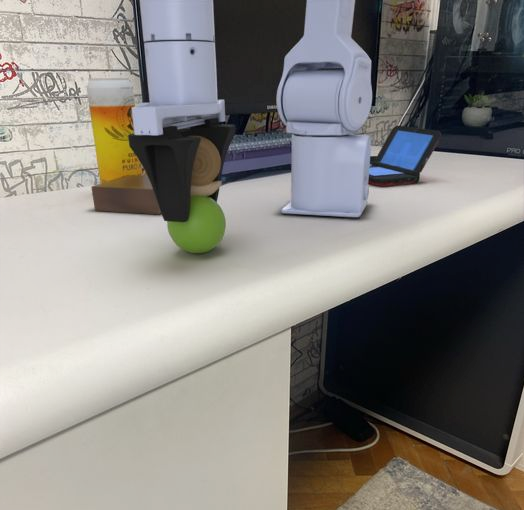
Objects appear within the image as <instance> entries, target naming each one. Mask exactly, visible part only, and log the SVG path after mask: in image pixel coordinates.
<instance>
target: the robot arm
mask: <svg viewBox="0 0 524 510" xmlns="http://www.w3.org/2000/svg"><path fill="white" fill-rule="evenodd" d="M305 5H306V6H305V17H304V30H303V36H302V37H301V38H300V40H299V41H298V42H297V43H296V44H295V45H294V46H293V47H292V48H291V49H290V51H289V52H288V53H286V55H285V56H284V59H283V61H284V62H283V71H282V75H281V78H280V81H279V84H278V87H277V90H276V110H277V112H278V116H279V119H280V120H281V122H282V123H283V124H284V126H286V133H289V134H291V165H290V166H291V168H290V169H291V173H290V182H291V183H290V201H289V203H287V204H286V205H285V206H284V207H283V208H281V210H280V211H281V214H287V215H288V214H289V215H304V216H305V215H306V216H307V215H308V216H322V217H323V216H324V217H341V218H343V217H344V218H360V217H361V215H363V212H364V210H365V209H366V207H367V205H368V200H369V194H370V185H369V183H368V180H369V167H370V165H371V153H372V152H371V151H372V149H371V148H372V142H371V141H372V139H371V135H368V134H357V133H360V129H361V128H362V126H363V125H364V124H365V122H366V121H367V120H368V118H369V115H370V112H371V109H372V103H373V89H372V88H373V87H372V77H371V76H372V60H371V58H370V57H369V54H368V53H366V51H364V49H363V48H362V47H361V46H360V45H359V44H358V42H356V41H355V40H354V39H353V38H352V34H353V33H352V32H353V23H354V13H355V5H356V0H306V4H305ZM139 8H140V17H141V30H142V39H143V46H144V47H143V48H144V56H145V59H144V60H145V68H146V78H147V79H146V80H147V89H148V98H149V99H148V100H149V102H139V103H137V106H135V107H132V116H133V125H134V134H129V135H128V139H129V146H130V148H131V149H132V151H133V152H134V153H135V155H136V156H137V158H138V159H139V161H140V163H141V165H142V169H143V170H144V172H145V173H146V176H148V178H149V180H150V183H151V185H152V188H153V191H154V193H155V196H156V199H157V202H158V205H159V208H160V211H161V214H160V215H161V217H162V219H163V221H164V222H167V221H172V222H186V221H188V218H189V213H190V201H191V177H192V170H193V164H194V160H195V156H196V152H197V149H198V146H199V144H200V141H201V138H200V137H188V136H201V137H204V138H206V139H208V140H209V141H211V142H212V143H213V144H214V145H215V147H216V148H217V150H218V152H219V155H220V158H221V167H220V171H219V173H218V175H217V176H216V178H215V179H214V180H213V181H212V182H215V181H221V180H222V176H223V175H222V174H223V171H224V165H225V160H226V157H227V154H228V151H229V148H230V147H231V144H232V141H233V139H234V137H235V135H236V125H235V124H228V123H227V124H223V122H226V107H225V99H218V81H217V56H216V40H215V39H216V37H215V15H214V0H139ZM325 69H326V70H325ZM188 118H189V119H188ZM220 123H222V124H220ZM221 182H222V181H221ZM220 187H221V186H220ZM220 187H219V188H218V189H217V190H216V191H215V192H214V193H213V194H211V195H209V196H208V197H210V198H212V199H213V200H214V201H216V202H217V203H218V199H219V194H220Z"/></svg>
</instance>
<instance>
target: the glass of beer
mask: <svg viewBox="0 0 524 510" xmlns="http://www.w3.org/2000/svg"><path fill="white" fill-rule="evenodd" d="M87 80H88V82H87V84H86V94H87V101H88V108H89V115H90V122H91V129H92V135H93V143H94V150H95V155H96V157H95V158H96V162H97V170H98V176H99V184H101V183H104V182H107V181H110V180H114V179H117V178H120V177H123V176H126V175H139V176H144V175H143V174H144V173H143V166H142V164H141V163H140V161H139V159H138V158H137V156H136V155H135V153H134V152H133V151H132V149H131V148H130V146H129V139H128V135H129V134H134V125H133V116H132V107H136V102H135V94H134V86H133V85H132V83H131V81H130V77H88V79H87Z"/></svg>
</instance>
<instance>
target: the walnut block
mask: <svg viewBox="0 0 524 510" xmlns="http://www.w3.org/2000/svg"><path fill="white" fill-rule="evenodd" d="M91 194H92V200H93V208H94V211H95V212H113V213H125V214H127V213H128V214H143V215H162V214H161V211H160V208H159V205H158V202H157V199H156V196H155V193H154V191H153V188H152V185H151V183H150V180H149V178H148V176H147V175H143V176H139V175H126V176H123V177H120V178H117V179H114V180H110V181H107V182H104V183H101V184H100V183H98V184H96V185H92V186H91Z"/></svg>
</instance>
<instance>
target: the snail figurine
mask: <svg viewBox="0 0 524 510" xmlns="http://www.w3.org/2000/svg"><path fill="white" fill-rule="evenodd" d="M188 137H200V138H201V141H200V144H199V146H198V149H197V152H196V156H195V160H194V164H193V170H192V177H191V201H190V213H189V218H188V221H186V222H172V221H166V225H167V231H168V234H169V236H170V238H171V240H172V241H173V243H174V244H175V245H176V246H177V247H179V248H180V249H181V250H183V251H185V252H188V253H190V254H204V253H208V252H209V251H211V250H213V249H215V248H216V247H217V246H218V245H219V244H220V243H221V241H222V240H223V238H224V236H225V232H226V224H227V221H226V216H225V212H224V211H223V209H222V207H221V206H220V204H219V203H218V201H217V202H216V201H214V200H213V199H212V198H210V197H208V196H209V195H211V194H213V193H214V192H215V191H216V190H217V189H218V188H219V187H221V186H222V185H223V183H222V181H215V182H212V181H213V180H214V179H215V178H216V176H217V175H218V173H219V171H220V167H221V158H220V155H219V152H218V150H217V148H216V147H215V145H214V144H213V143H212V142H211V141H209V140H208V139H206V138H204V137H201V136H188ZM219 189H220V188H219Z"/></svg>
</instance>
